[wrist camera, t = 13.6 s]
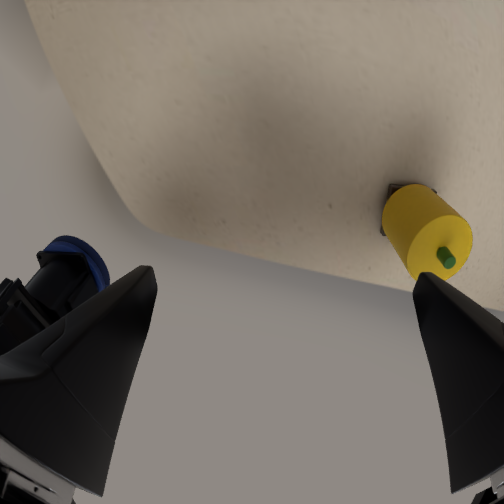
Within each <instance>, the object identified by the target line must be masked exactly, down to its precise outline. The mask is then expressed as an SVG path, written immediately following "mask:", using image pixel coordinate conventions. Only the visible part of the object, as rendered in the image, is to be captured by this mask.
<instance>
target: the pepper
mask: <svg viewBox="0 0 504 504" xmlns="http://www.w3.org/2000/svg"><path fill="white" fill-rule="evenodd" d="M382 226H383V230H384V232H385V234H386V236H387V237H388V239H389V240H390V242H391V244H392V245H393V247H394V248H395V250H396V252H397V253H398V255H399V257H400V258H401V260H402V262H403V263H404V265H405V267H406V269H407V270H408V272H409V274H410V275H411V277H412V278H413V279H414V280H416V281H417V279H418V276H419V274H420V273H421V272H432V273H434V274H435V275H437V276H438V277H440V278H441V279H443V280H444V281H445V280H447V279H449V278H450V277H452V276H453V275H454V274H455V273H457V272H458V271H459V270H460V269H461V267H462V266H463V265H464V263H465V262H466V260H467V258H468V256H469V254H470V251H471V248H472V241H473V238H472V231H471V228H470V226H469V224H468V223H467V221H466V220H465V219H464V218H463V217H462V216H460V215H459V214H458V213H457V212H456V211H455V210H454V209H453V208H452V207H451V206H450V205H448V204H447V203H446V202H445V201H444V200H443V199H442V198H440V197H439V196H438V195H437V194H436V193H435V192H433V191H432V190H431V189H430V188H428V187H427V186H424V185H420V184H411V185H407V186H404V187H402V188H400V189H399V190H397V191H396V192H395V193H394V194H393V195H392V196H391V197H390V198H389V200H388V201H387V203H386V205H385V207H384V210H383V214H382Z"/></svg>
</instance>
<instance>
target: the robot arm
mask: <svg viewBox="0 0 504 504" xmlns="http://www.w3.org/2000/svg"><path fill="white" fill-rule="evenodd" d="M36 256H37V259H38V261H39V264H40V266H41V268H40V269H39V270H38V272H37V273H36V274H35V275H34V276H33V277H32V279H31V280H30V281H29V282H28V283H27V285H26V286H25V287H24V286H23V285H22V282H21V280H20V279H19V278H17V279H16V280H15V281H14V282H13V281H12V280H10V279H7V278H5V279H4V280H3V281H2V283H1V284H0V504H76V503H75V502H74V500H73V495H74V491H75V487H77V488H79V489H82V490H84V491H86V492H89V493H91V494H94V495H97V496H99V497H102V496H103V492H104V488H105V483H106V479H107V474H108V469H109V465H110V461H111V457H112V453H113V449H114V445H115V440H116V436H117V432H118V429H119V425H120V421H121V418H122V414H123V411H124V407H125V403H126V400H127V397H128V393H129V390H130V386H131V383H132V380H133V377H134V373H135V370H136V367H137V364H138V361H139V358H140V355H141V351H142V348H143V346H144V342H145V340H146V337H147V333H148V330H149V326H150V322H151V317H152V313H153V308H154V303H155V299H156V295H157V283H156V279H155V274H154V270H153V268H152V267H151V266H144V265H141V266H139V267H137V268H135V269H134V270H132V271H131V272H129V273H128V274H126V275H125V276H123V277H122V278H120V279H119V280H117V281H116V282H114V283H112V284H111V285H109V286H108V287H106V288H105V289H103V290H102V291H100V292H98V289H97V287H96V284H95V281H94V278H93V276H92V273H91V270H90V267H89V264H88V261H87V258H86V256H85V254H83V253H81V252H58V251H39V252H38V253H37V255H36ZM80 257H81V258H82V259H81V258H80ZM413 300H414V304H415V309H416V314H417V319H418V323H419V328H420V332H421V336H422V340H423V343H424V347H425V350H426V354H427V357H428V361H429V365H430V369H431V373H432V377H433V381H434V385H435V389H436V393H437V398H438V403H439V408H440V413H441V418H442V423H443V429H444V435H445V439H446V440H445V443H446V450H447V457H448V465H449V475H450V487H451V493H452V494H454V493H456V492H459V491H461V490H463V489H466V488H468V487H470V486H473V485H475V484H477V483H479V482H481V481H483V480H485V479H487V478H489V477H490V480H491V484H492V487H490V488H488V489H486V490H484V491H482V492H480V493H478V494H476V495H475V497H474V499H473V502H472V503H471V504H504V323H503V322H501V321H500V320H499V319H497V318H496V317H495V316H494V315H492V314H491V313H490V312H488V311H487V310H485V309H484V308H483V307H481V306H480V305H479V304H477V303H476V302H474V301H473V300H472V299H470V298H469V297H467V296H466V295H465V294H463V293H462V292H460V291H459V290H457V289H456V288H454V287H453V286H451V285H450V284H449V283H447V282H446V281H444V280H443V279H441V278H440V277H438V276H437V275H435V274H434V273H432V272H421V273H420V274H419V276H418V279H417V282H416V284H415V287H414V290H413Z"/></svg>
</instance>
